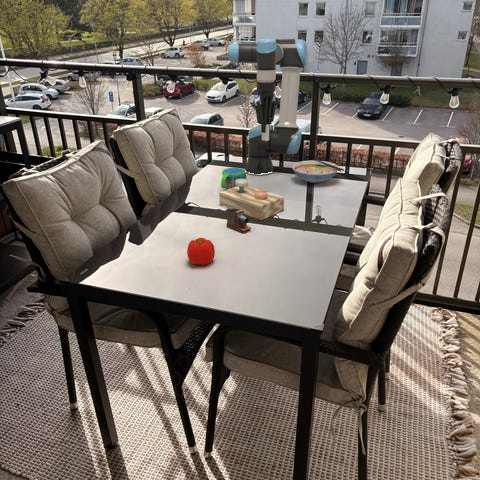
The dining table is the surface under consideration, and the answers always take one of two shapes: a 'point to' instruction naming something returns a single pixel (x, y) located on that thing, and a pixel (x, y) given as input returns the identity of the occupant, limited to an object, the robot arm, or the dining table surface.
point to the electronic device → (237, 220)
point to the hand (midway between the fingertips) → (265, 140)
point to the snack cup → (232, 177)
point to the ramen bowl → (315, 170)
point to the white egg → (241, 184)
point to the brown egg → (260, 194)
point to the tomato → (200, 251)
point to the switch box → (252, 202)
